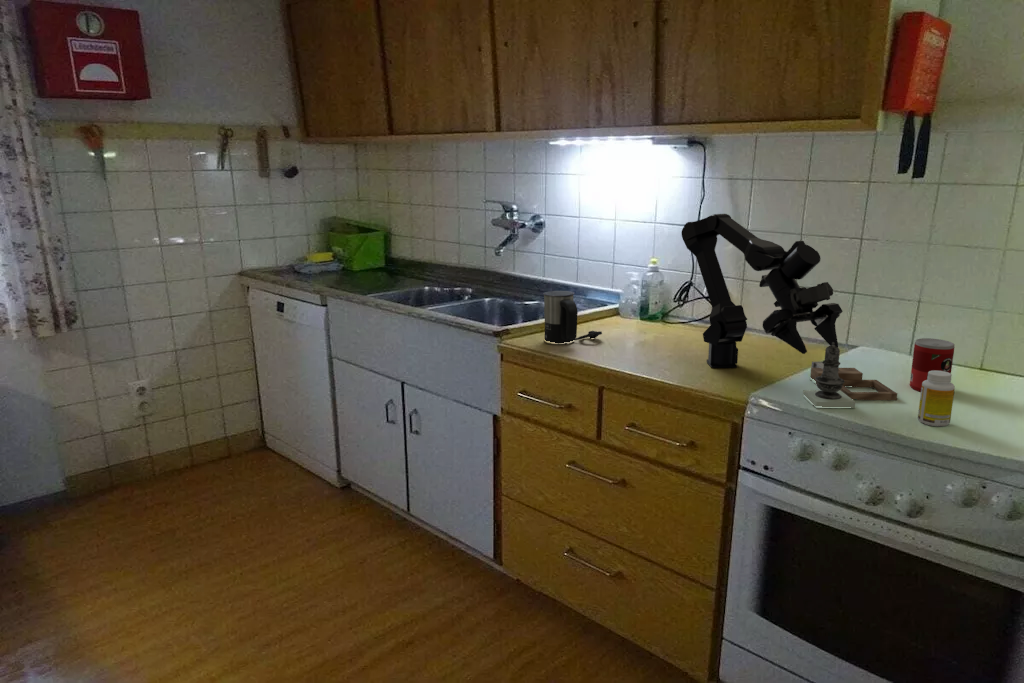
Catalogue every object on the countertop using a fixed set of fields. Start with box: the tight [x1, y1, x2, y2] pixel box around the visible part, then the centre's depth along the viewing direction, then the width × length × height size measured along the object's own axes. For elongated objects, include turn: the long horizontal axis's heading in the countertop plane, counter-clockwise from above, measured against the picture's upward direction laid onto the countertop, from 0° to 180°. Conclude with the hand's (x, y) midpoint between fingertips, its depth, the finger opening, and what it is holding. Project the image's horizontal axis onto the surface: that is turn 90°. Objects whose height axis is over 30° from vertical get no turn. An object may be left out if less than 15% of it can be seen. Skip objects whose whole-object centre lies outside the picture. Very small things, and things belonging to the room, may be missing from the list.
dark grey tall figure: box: [815, 342, 845, 400], centre depth 152 cm, size 6×6×12 cm
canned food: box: [909, 337, 955, 393], centre depth 160 cm, size 8×8×11 cm
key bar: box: [810, 361, 824, 369], centre depth 171 cm, size 4×7×3 cm, turn 177°
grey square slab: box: [802, 389, 856, 409], centre depth 153 cm, size 8×8×2 cm
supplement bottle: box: [917, 370, 956, 427], centre depth 139 cm, size 6×6×10 cm
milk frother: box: [542, 290, 603, 343], centre depth 209 cm, size 14×16×15 cm
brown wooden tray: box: [809, 367, 898, 401], centre depth 161 cm, size 13×15×3 cm
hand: (821, 350), depth 153 cm, fingers open, 9 cm apart
